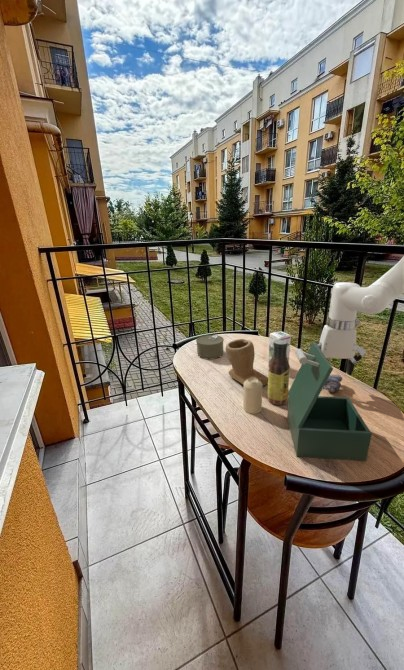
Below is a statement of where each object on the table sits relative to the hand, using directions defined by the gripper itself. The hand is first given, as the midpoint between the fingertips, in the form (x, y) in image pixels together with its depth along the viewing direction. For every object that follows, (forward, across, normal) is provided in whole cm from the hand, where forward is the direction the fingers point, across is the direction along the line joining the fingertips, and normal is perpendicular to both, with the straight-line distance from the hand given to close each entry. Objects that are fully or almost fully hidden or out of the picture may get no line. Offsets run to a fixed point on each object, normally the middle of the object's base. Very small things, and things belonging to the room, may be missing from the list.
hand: (333, 372), depth 92 cm
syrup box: (+7, +16, -14) cm, 22 cm away
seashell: (+6, 0, 0) cm, 6 cm away
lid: (-10, +14, +25) cm, 30 cm away
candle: (+6, +26, +13) cm, 30 cm away
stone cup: (+7, +28, -4) cm, 30 cm away
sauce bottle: (+6, +18, +8) cm, 21 cm away
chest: (+6, +9, +25) cm, 27 cm away
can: (+7, +44, -27) cm, 52 cm away
